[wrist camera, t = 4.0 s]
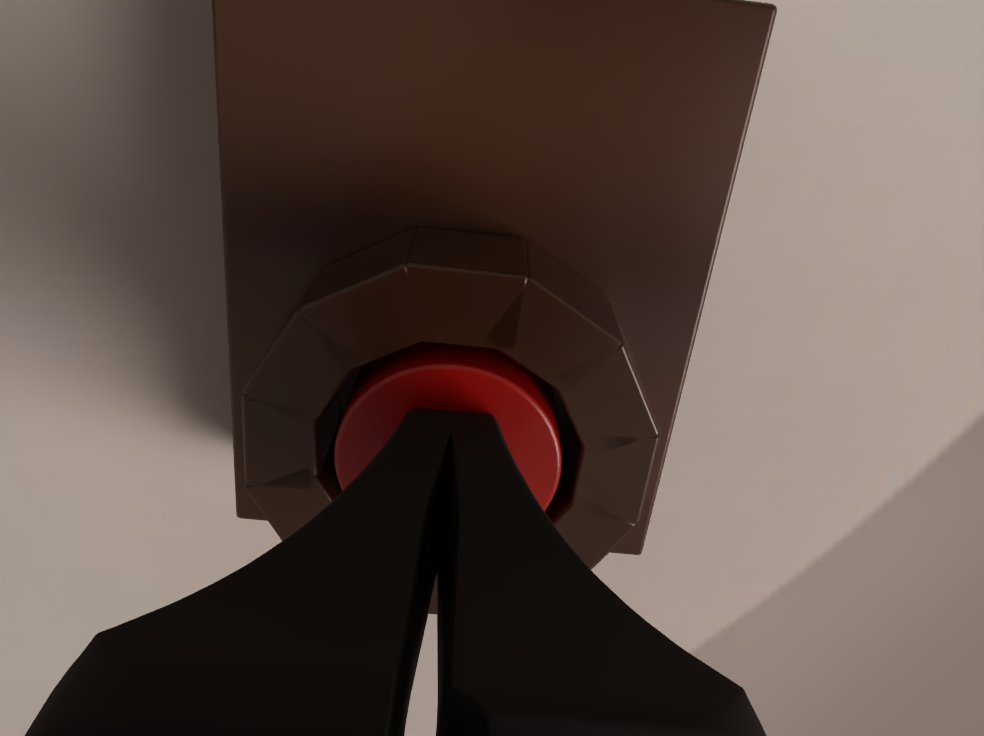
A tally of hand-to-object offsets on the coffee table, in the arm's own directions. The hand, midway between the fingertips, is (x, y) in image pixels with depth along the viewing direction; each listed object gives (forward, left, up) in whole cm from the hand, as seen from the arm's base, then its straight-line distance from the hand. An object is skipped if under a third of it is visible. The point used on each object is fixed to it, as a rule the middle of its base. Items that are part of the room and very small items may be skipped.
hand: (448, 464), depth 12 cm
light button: (0, 0, -2) cm, 2 cm away
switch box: (+2, 0, -4) cm, 5 cm away
